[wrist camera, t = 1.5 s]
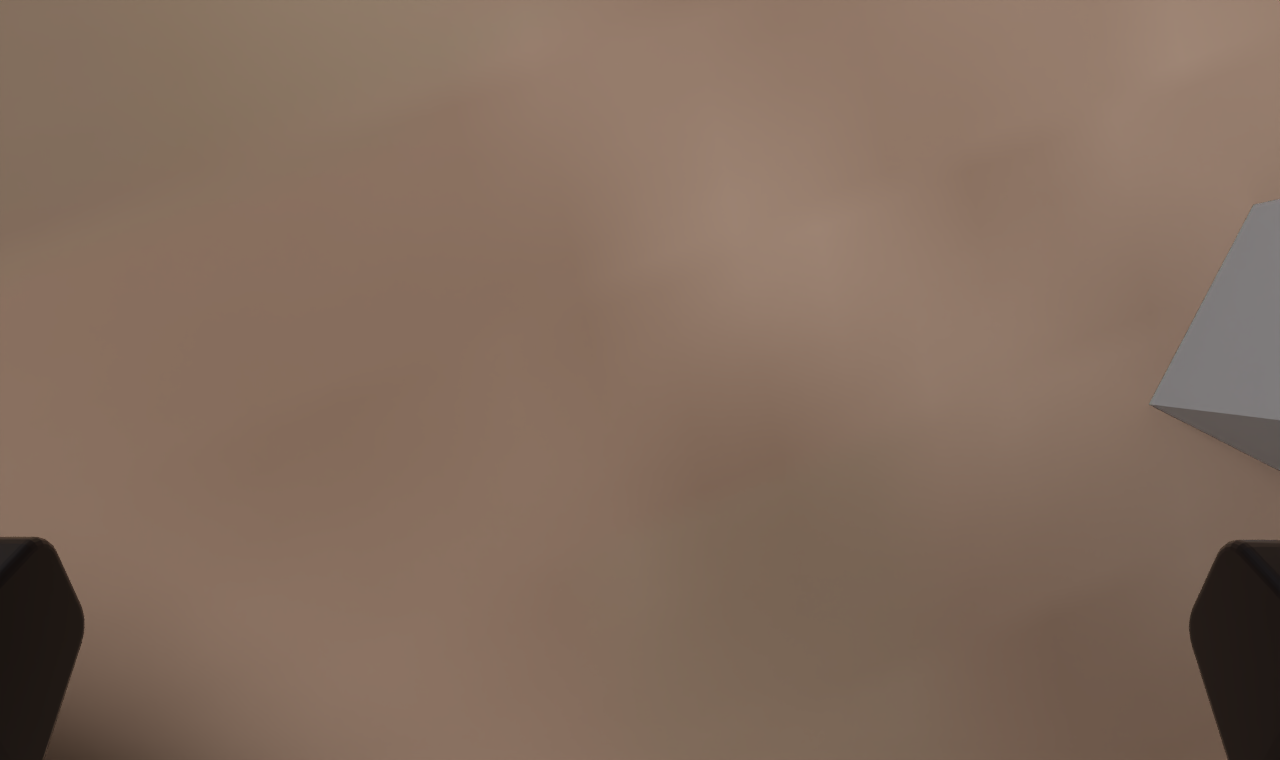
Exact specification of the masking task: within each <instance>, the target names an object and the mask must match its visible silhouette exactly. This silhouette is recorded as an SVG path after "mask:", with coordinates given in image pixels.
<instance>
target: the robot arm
mask: <svg viewBox="0 0 1280 760" xmlns="http://www.w3.org/2000/svg"><path fill="white" fill-rule="evenodd" d="M1189 632H1190V639H1191V643H1192V647H1193V650H1194V654H1195V657H1196V660H1197V663H1198V666H1199V669H1200V673H1201V676H1202V679H1203V682H1204V685H1205V689H1206V692H1207V695H1208V698H1209V701H1210V704H1211V708H1212V711H1213V714H1214V717H1215V720H1216V723H1217V727H1218V730H1219V733H1220V736H1221V739H1222V742H1223V746H1224V749H1225V752H1226V755H1227V758H1228V760H1280V541H1278V540H1235V541H1231V542H1228V543H1227V544H1226V545H1225V546H1223V547H1222V548H1221V549H1220V551H1219V552H1218V554H1217V556H1216V558H1215V561H1214V563H1213V565H1212V567H1211V569H1210V571H1209V574H1208V576H1207V578H1206V580H1205V582H1204V584H1203V587H1202V589H1201V591H1200V593H1199V595H1198V598H1197V600H1196V602H1195V604H1194V606H1193V609H1192V612H1191V616H1190V622H1189ZM83 634H84V615H83V610H82V607H81V604H80V602H79V600H78V598H77V595H76V593H75V591H74V589H73V587H72V584H71V582H70V580H69V578H68V576H67V573H66V571H65V569H64V567H63V565H62V562H61V560H60V558H59V556H58V554H57V552H56V550H55V548H54V546H53V545H52V544H50V543H49V542H48V541H47V540H45V539H42V538H39V537H0V760H44V758H45V755H46V752H47V749H48V745H49V742H50V739H51V736H52V733H53V730H54V727H55V724H56V721H57V718H58V714H59V711H60V708H61V705H62V702H63V699H64V696H65V693H66V690H67V687H68V683H69V680H70V677H71V674H72V671H73V668H74V665H75V662H76V659H77V656H78V652H79V649H80V646H81V643H82V639H83Z"/></svg>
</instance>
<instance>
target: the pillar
mask: <svg viewBox="0 0 1280 760" xmlns="http://www.w3.org/2000/svg"><path fill="white" fill-rule="evenodd" d="M1149 404H1150V405H1151V406H1153V407H1155V408H1157V409H1159V410H1161V411H1163V412H1165V413H1167V414H1169V415H1171V416H1173V417H1175V418H1177V419H1179V420H1181V421H1183V422H1185V423H1187V424H1189V425H1191V426H1193V427H1195V428H1197V429H1199V430H1201V431H1203V432H1204V433H1206V434H1208V435H1210V436H1212V437H1214V438H1216V439H1218V440H1220V441H1222V442H1224V443H1226V444H1228V445H1230V446H1232V447H1234V448H1236V449H1238V450H1240V451H1242V452H1244V453H1246V454H1248V455H1250V456H1252V457H1254V458H1256V459H1257V460H1259V461H1261V462H1263V463H1265V464H1267V465H1269V466H1271V467H1273V468H1275V469H1277V470H1279V471H1280V199H1277V200H1273V201H1268V202H1264V203H1259V204H1255V205H1253V207H1252V209H1251V211H1250V212H1249V214H1248V216H1247V218H1246V220H1245V222H1244V224H1243V226H1242V228H1241V230H1240V232H1239V233H1238V235H1237V237H1236V239H1235V241H1234V243H1233V245H1232V247H1231V249H1230V251H1229V253H1228V254H1227V256H1226V258H1225V260H1224V262H1223V264H1222V266H1221V268H1220V270H1219V272H1218V274H1217V275H1216V277H1215V279H1214V281H1213V283H1212V285H1211V287H1210V289H1209V291H1208V293H1207V295H1206V296H1205V298H1204V300H1203V302H1202V304H1201V306H1200V308H1199V310H1198V312H1197V314H1196V316H1195V317H1194V319H1193V321H1192V323H1191V325H1190V327H1189V329H1188V331H1187V333H1186V335H1185V337H1184V339H1183V340H1182V342H1181V344H1180V346H1179V348H1178V350H1177V352H1176V354H1175V356H1174V358H1173V360H1172V361H1171V363H1170V365H1169V367H1168V369H1167V371H1166V373H1165V375H1164V377H1163V379H1162V381H1161V382H1160V384H1159V386H1158V388H1157V390H1156V392H1155V394H1154V396H1153V398H1152V400H1151V402H1150V403H1149Z"/></svg>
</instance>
